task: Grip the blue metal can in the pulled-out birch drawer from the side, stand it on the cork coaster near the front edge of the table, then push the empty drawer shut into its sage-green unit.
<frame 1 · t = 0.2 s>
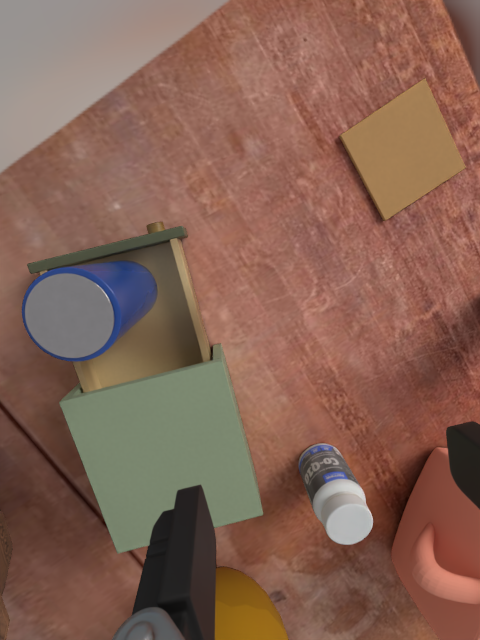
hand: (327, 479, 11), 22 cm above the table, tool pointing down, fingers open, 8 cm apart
teapot: (462, 488, 38), on the table
drawer unit: (173, 427, 34), on the table
pill bottle: (319, 461, 36), on the table
coaster: (402, 153, 30), on the table
drawer: (136, 325, 30), point 2 cm above the table, slide at 10.0 cm, touching blue can
blue can: (127, 290, 30), point 1 cm above the table, touching drawer
apple: (220, 591, 39), on the table
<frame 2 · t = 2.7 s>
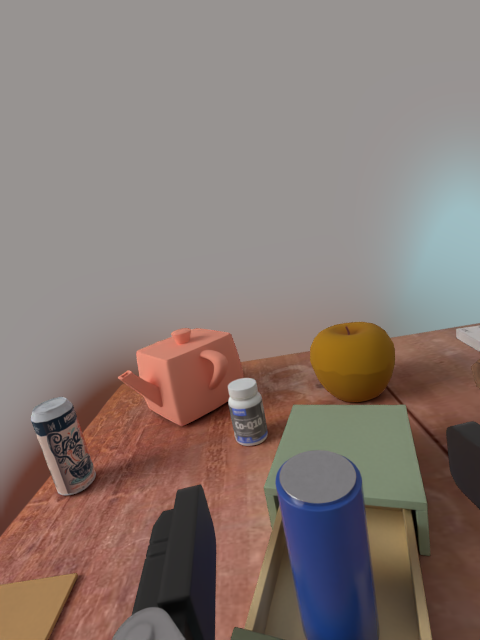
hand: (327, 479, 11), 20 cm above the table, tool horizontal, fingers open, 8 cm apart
teapot: (186, 408, 62), on the table
drawer unit: (348, 485, 37), on the table
pill bottle: (252, 438, 49), on the table
coaster: (6, 632, 28), on the table
beer can: (78, 486, 46), on the table
drawer: (340, 570, 26), point 2 cm above the table, slide at 10.0 cm, touching blue can
blue can: (339, 622, 24), point 1 cm above the table, touching drawer
apple: (356, 393, 56), on the table
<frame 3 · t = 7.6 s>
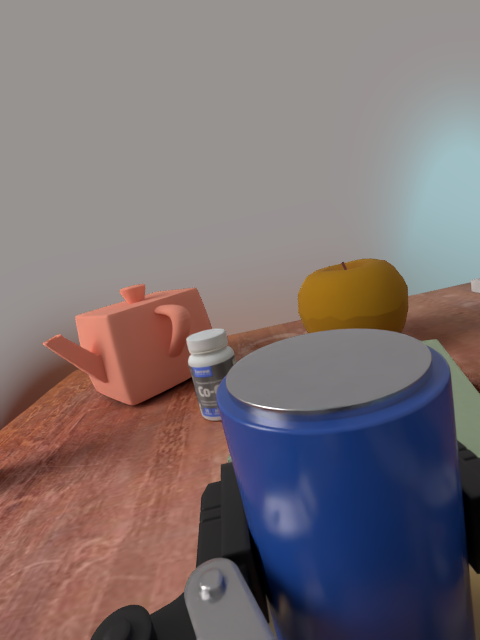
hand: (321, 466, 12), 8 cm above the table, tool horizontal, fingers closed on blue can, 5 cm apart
teapot: (144, 388, 48), on the table
drawer unit: (364, 457, 24), on the table
pill bottle: (224, 411, 36), on the table
drawer: (374, 600, 13), point 2 cm above the table, slide at 10.0 cm, touching blue can
apple: (359, 352, 43), on the table
when the fingers open (8 cm above the table, at t = 17.1 s): blue can stays where it is, resting on coaster.
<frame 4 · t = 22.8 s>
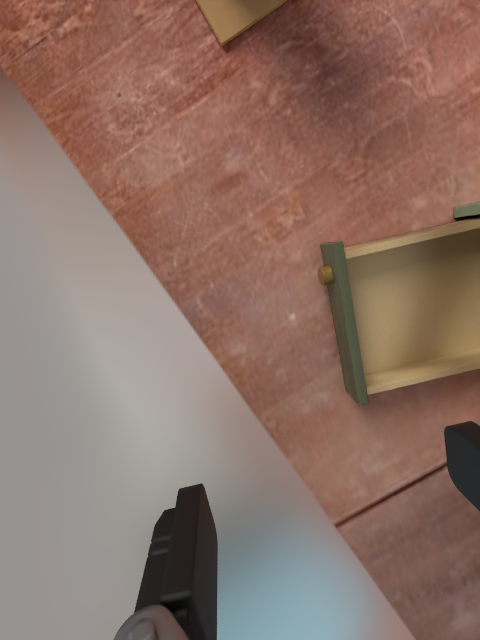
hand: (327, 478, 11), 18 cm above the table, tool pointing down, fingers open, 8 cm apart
drawer: (427, 303, 27), point 2 cm above the table, slide at 10.0 cm
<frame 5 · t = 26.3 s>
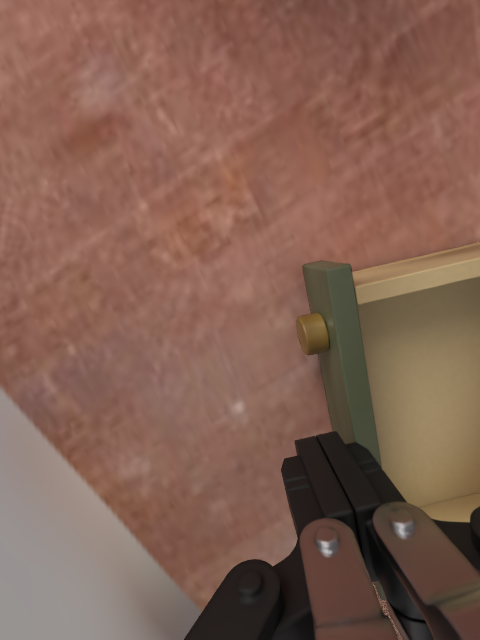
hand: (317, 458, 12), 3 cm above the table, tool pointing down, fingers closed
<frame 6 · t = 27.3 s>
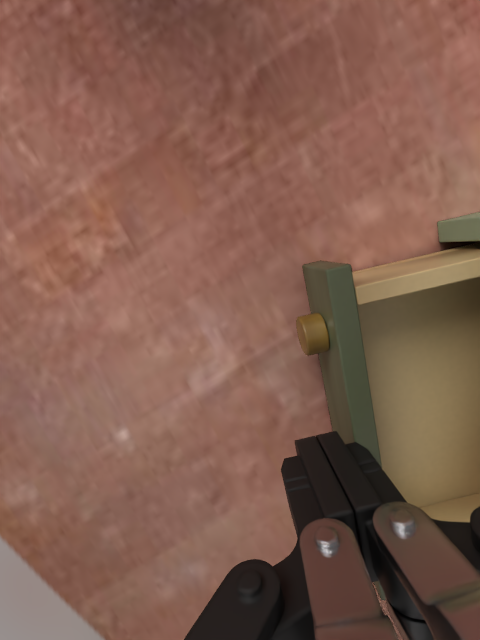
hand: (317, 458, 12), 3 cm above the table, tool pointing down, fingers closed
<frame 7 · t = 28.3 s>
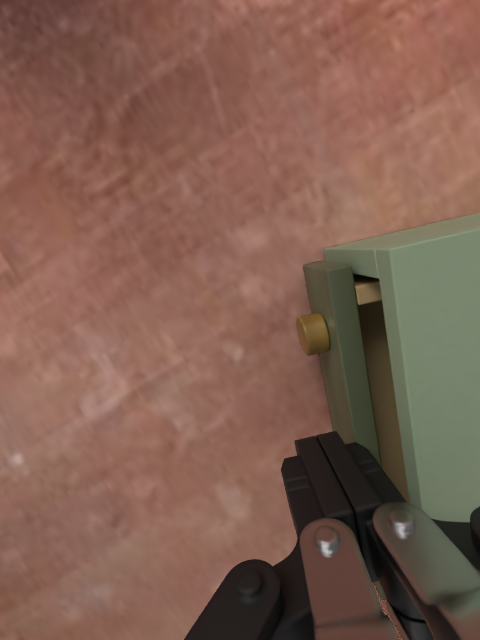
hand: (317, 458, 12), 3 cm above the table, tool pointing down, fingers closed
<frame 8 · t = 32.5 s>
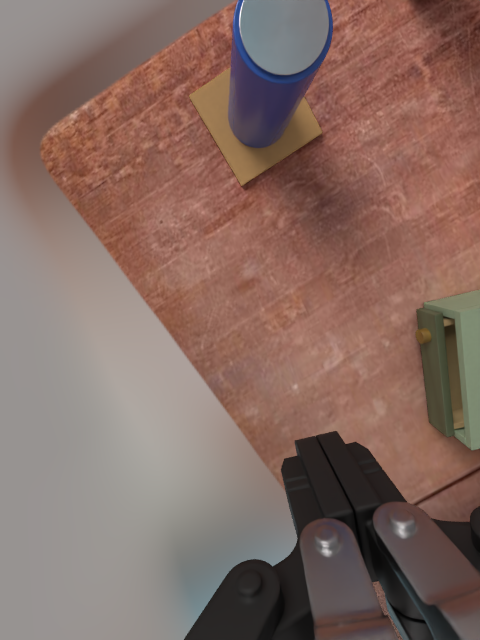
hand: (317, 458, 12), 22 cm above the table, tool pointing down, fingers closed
coaster: (256, 116, 30), on the table
blue can: (258, 115, 29), resting on coaster
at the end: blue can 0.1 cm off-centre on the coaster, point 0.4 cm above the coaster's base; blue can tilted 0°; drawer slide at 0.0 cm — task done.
